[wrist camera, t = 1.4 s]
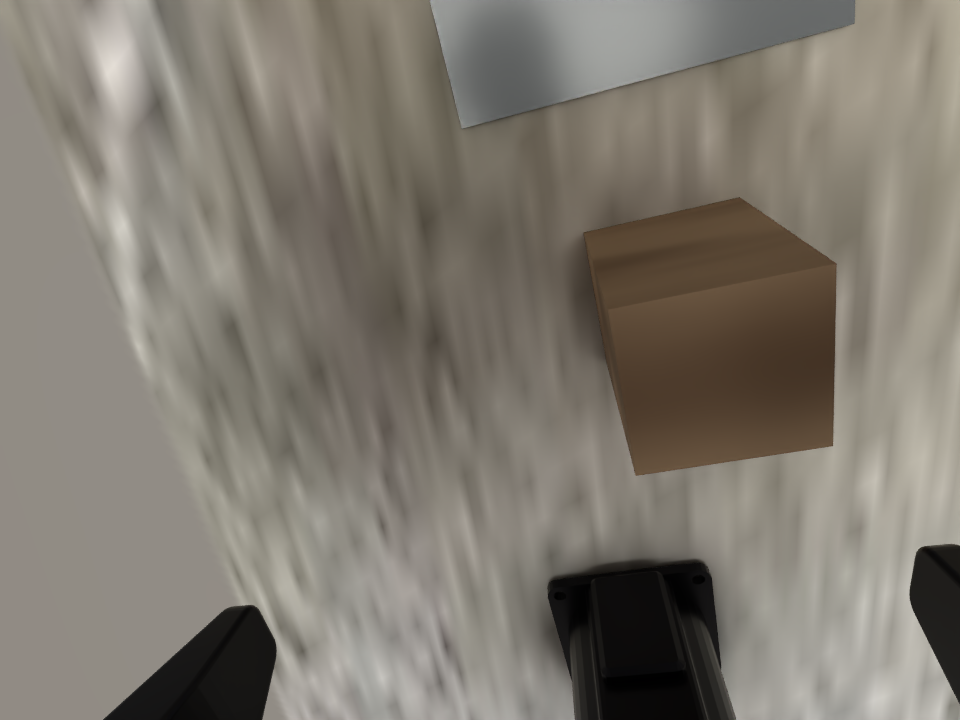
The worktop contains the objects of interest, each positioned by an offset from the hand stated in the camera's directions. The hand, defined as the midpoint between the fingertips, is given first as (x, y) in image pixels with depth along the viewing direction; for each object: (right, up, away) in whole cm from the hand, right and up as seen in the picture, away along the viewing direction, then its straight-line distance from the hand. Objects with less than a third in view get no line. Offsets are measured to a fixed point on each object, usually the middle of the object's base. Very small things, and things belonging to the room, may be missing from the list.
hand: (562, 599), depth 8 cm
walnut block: (+5, +6, +10) cm, 12 cm away
